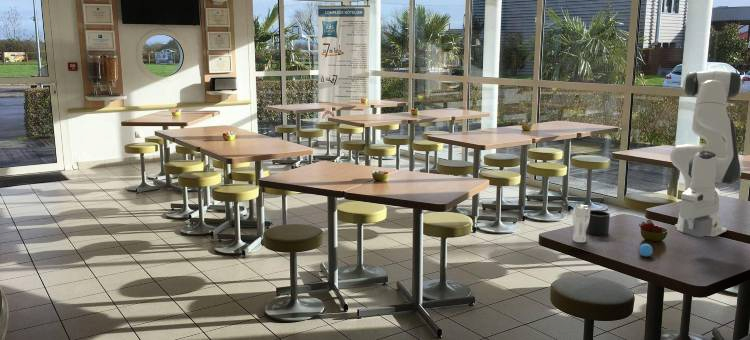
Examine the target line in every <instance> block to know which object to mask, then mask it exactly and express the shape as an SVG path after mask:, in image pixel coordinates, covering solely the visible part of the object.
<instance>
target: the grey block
mask: <svg viewBox="0 0 750 340" xmlns="http://www.w3.org/2000/svg"><path fill="white" fill-rule="evenodd" d="M712 220H713V218H710V217H706V216H703V217H699V218H695V219H694V221H693V223H694V224H695V228H694V229H689V228H688V226H689V224H688V221H687V220H686V219H684V227H683V232H682V233H684V234H687V235H691V236H694V237H697V238H703V237H707V236H706V235H710V234H711V229H712Z"/></svg>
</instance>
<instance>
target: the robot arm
mask: <svg viewBox="0 0 750 340" xmlns="http://www.w3.org/2000/svg"><path fill="white" fill-rule="evenodd" d="M742 87H743V80H742V77H741V75H740V73H737V72H734V71H730V72H727V71H721V70H720V71H719V70H713V71H710V70H709V71H708V70H707V71H706V70H705V71H690V72H688V73H687V74H686V75H685V76H684V79H683V81H682V88H683V91H684V93H685V95H687V96H690V97H696V99H695V104H694V109H693V116H692V117H693V118H692V125H691V129H692V132H693V133H694V134H695V135H696V136H697V137H700V138H701V139H703V140H705V142H706V144H705V145H704V144H703V145H702V144H691V143H690V144H689V143H687V144H685V143H684V144H677V145H675V146H674V147H673V148H672V150H671V152H670V157H669V158H670V161H671V164H672V165H673V166H674V167H676V169H678V171H679V172H680V173H681V175H682V177H683V179H684V192H682V193H681V196H680V199H682V200H681V201H680V205H679V206H680V209H679V214H678V219H677V223H676V224H674V225H675V226H674V227H675V228H676V229H677V231H679V232H680V233H683V227H684V219H686V220H687V221H688V224H689V226H688V228H689V229H694V228H695V224H694V223H693V221H694V219H695V218H699V217H703V216H706V217H710V218H713V220H712V229H711V234H710V235H706V236H705V237H717V236H719V235H721V234H723V233H726V232H727V228H726V227H725V226H722V222H723V221H722V220H723V219H722V217H721V216H720V215H719V214H718V212H719V210H720V209H719V208H720V196H719V192H718V191H717V190H716V183H722V184H726V185H727V184H728V185H732V184H734V183H736V182H737V181H739V180H740V178H741V175H742V166H741V163H740V159H739V150H738V139H737V132H736V131H737V130H736V126H735V123H734V120H733V119H731V118H729V116H728V114H727V110H726V109H727V101H728V100H729V101H730V99H732V98H735V97H736V96H738V95H739V93H740V92H741V90H742Z"/></svg>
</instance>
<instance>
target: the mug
mask: <svg viewBox="0 0 750 340" xmlns="http://www.w3.org/2000/svg"><path fill="white" fill-rule="evenodd" d="M610 217H611V214H610V213H609V212H608V211H607V212H606V211H602V210H590V221H589V225H588V229H587V234H588V235H590V236H596V237H604V236H607V235H609V232H610V231H609V230H610Z"/></svg>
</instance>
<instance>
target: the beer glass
mask: <svg viewBox="0 0 750 340" xmlns="http://www.w3.org/2000/svg"><path fill="white" fill-rule="evenodd" d="M572 211H573V212H572V227H573V235H572V239H571V241H572V242H575V243H578V244H584V243H585V242H586V243H587V242H588V237H587V236H588V235H587V234H588V233H587V229H588V225H589V221H590V211H591V206H589V205H586V204H575V205H573V210H572Z"/></svg>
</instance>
